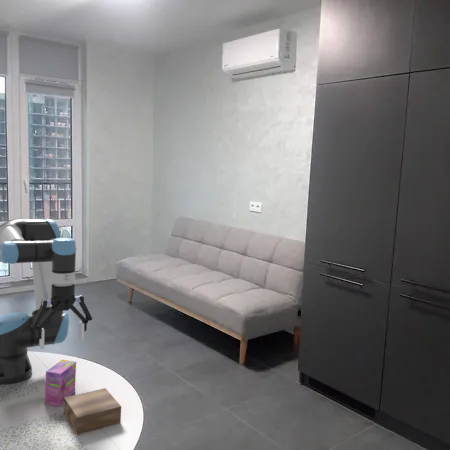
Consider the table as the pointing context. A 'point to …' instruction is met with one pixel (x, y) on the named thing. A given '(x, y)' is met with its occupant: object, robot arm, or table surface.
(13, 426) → the table surface
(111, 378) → the table surface
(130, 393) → the table surface
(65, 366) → the box
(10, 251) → the robot arm
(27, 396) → the table surface
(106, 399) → the walnut block
